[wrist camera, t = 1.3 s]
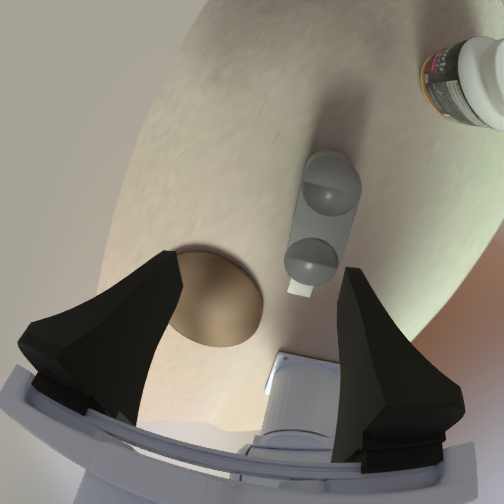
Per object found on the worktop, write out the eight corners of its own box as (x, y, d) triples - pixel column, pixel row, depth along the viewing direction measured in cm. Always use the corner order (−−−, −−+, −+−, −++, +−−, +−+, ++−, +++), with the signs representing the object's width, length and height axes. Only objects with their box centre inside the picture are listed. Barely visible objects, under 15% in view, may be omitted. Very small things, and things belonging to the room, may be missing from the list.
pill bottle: (444, 40, 13) (514, 9, 4) (489, 97, 14) (571, 103, 5) (403, 79, 16) (466, 59, 7) (452, 137, 17) (530, 162, 8)
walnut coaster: (272, 267, 25) (271, 272, 24) (252, 352, 30) (251, 358, 29) (156, 239, 26) (152, 242, 25) (159, 325, 31) (156, 329, 31)
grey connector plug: (309, 143, 20) (308, 151, 15) (356, 155, 19) (368, 167, 15) (281, 270, 25) (272, 305, 20) (320, 280, 24) (319, 316, 20)
